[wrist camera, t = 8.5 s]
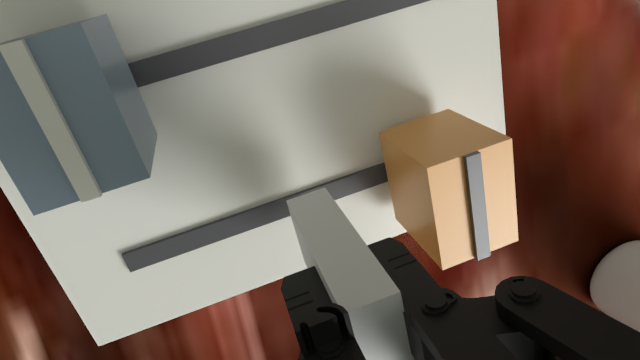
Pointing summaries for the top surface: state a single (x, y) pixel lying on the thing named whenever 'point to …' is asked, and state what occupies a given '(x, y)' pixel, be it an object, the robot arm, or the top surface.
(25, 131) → the slate fader
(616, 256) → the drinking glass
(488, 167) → the orange fader
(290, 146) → the fader console
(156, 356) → the top surface
